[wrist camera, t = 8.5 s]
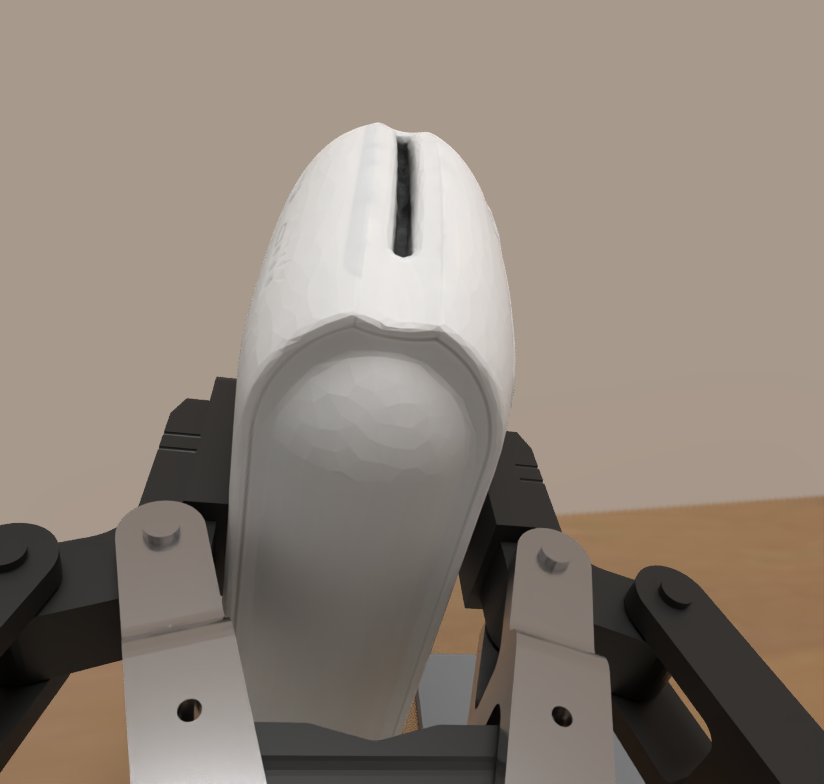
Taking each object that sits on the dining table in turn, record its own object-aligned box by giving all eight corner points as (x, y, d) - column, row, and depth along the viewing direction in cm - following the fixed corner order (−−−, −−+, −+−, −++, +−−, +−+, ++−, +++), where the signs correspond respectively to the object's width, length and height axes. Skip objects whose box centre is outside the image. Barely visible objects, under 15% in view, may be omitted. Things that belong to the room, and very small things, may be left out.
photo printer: (269, 471, 22) (313, 68, 15) (397, 489, 22) (495, 107, 16) (187, 809, 13) (199, 236, 6) (395, 825, 14) (609, 310, 7)
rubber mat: (444, 941, 21) (448, 934, 21) (411, 661, 30) (414, 653, 29) (763, 917, 24) (771, 911, 24) (652, 664, 32) (657, 657, 32)
